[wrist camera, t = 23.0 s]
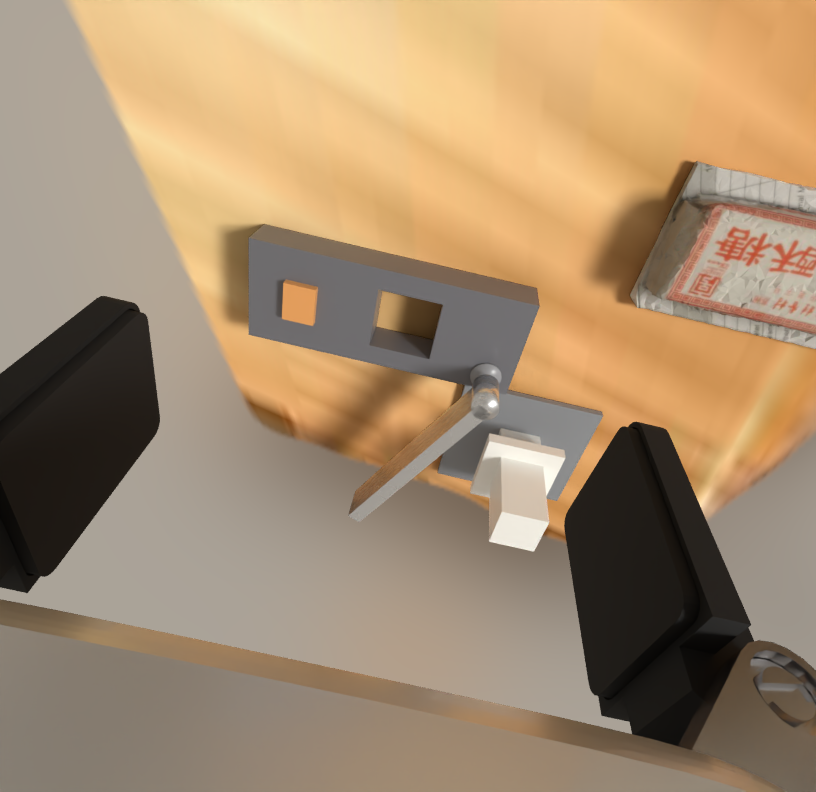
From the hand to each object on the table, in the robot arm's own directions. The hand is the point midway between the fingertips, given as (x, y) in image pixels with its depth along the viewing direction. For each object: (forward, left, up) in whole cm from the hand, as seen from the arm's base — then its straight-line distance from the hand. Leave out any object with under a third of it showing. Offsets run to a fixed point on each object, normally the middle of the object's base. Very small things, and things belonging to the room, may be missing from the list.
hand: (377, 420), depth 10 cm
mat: (+11, -24, -29) cm, 39 cm away
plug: (+11, -24, -29) cm, 39 cm away
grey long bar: (+2, -22, -25) cm, 34 cm away
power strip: (-2, -13, -29) cm, 32 cm away
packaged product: (+24, -3, -30) cm, 38 cm away
